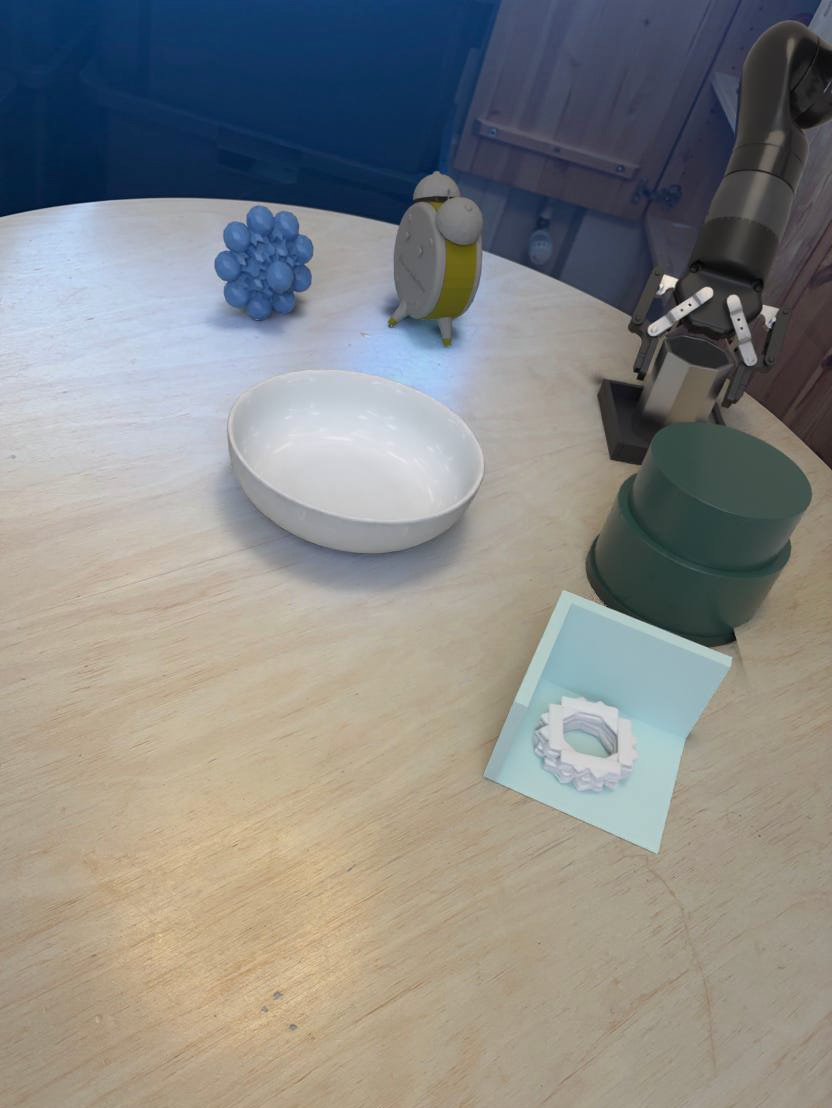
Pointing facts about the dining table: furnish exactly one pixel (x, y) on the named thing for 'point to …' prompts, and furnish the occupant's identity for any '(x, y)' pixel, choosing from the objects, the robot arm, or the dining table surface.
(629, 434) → the tray
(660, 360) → the cup
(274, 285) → the blue knobbed cluster
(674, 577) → the green stepped cylinder
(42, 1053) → the dining table surface
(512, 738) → the l-shaped corner panel
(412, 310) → the alarm clock
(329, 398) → the serving bowl
